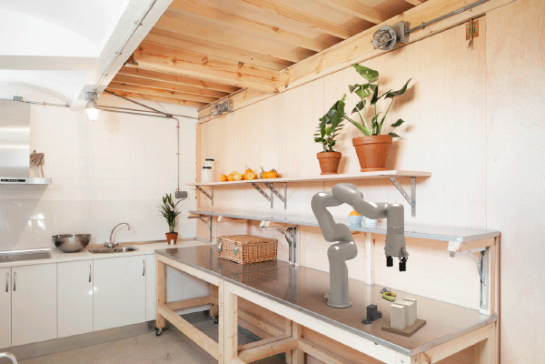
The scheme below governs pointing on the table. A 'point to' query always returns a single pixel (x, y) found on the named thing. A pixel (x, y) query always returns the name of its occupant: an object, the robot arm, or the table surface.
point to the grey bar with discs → (372, 314)
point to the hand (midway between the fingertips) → (395, 268)
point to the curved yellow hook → (388, 294)
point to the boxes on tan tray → (404, 318)
